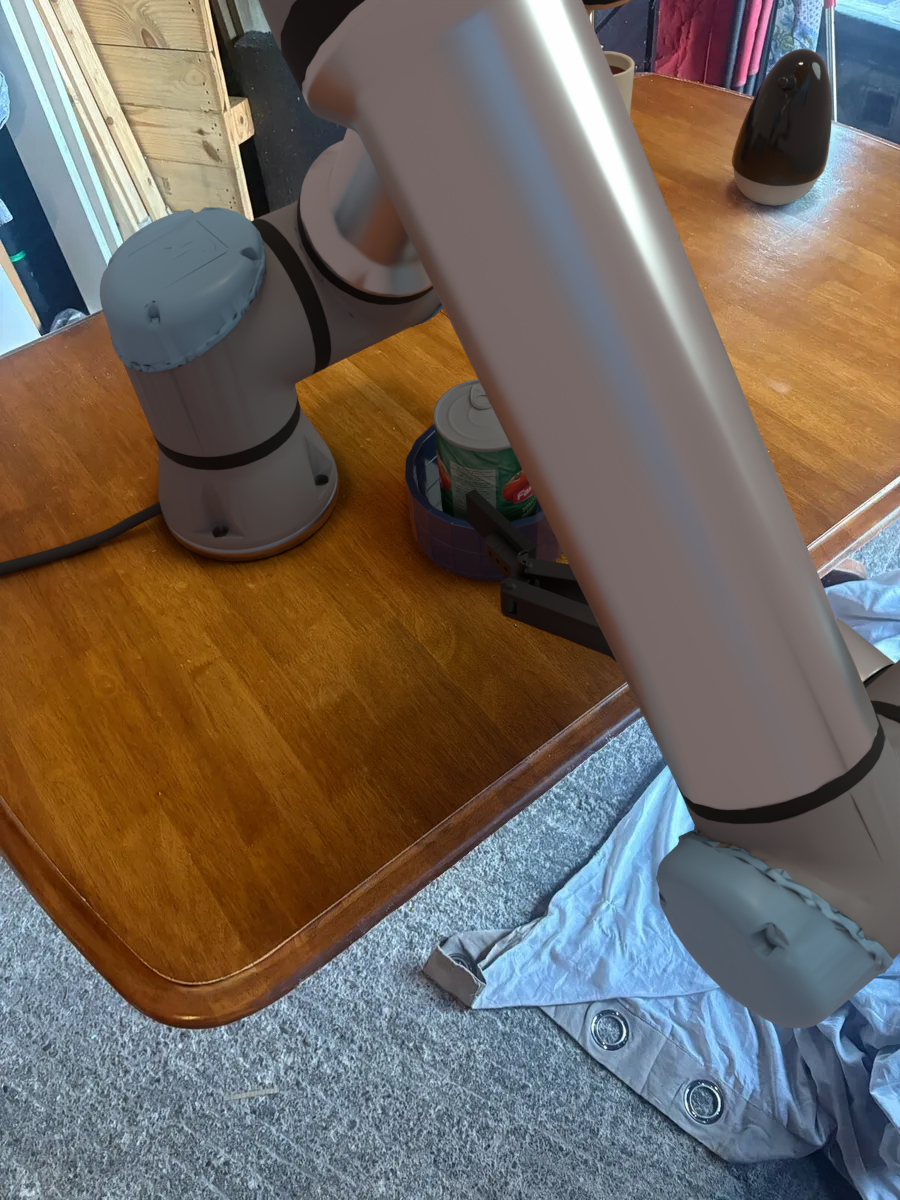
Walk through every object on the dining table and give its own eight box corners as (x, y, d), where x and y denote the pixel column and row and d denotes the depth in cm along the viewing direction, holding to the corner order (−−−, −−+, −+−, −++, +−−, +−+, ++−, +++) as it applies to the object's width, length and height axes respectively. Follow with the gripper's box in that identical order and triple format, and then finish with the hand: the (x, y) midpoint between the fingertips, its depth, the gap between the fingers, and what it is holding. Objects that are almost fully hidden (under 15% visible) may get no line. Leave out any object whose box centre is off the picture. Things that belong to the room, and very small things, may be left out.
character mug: (580, 155, 112) (586, 40, 101) (635, 163, 110) (647, 47, 99) (550, 197, 106) (554, 80, 96) (608, 207, 104) (618, 88, 93)
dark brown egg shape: (710, 204, 103) (735, 60, 91) (746, 165, 108) (775, 24, 96) (795, 226, 99) (834, 80, 87) (829, 185, 104) (870, 41, 92)
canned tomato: (546, 543, 72) (551, 440, 63) (450, 558, 71) (441, 456, 63) (526, 475, 76) (528, 371, 68) (435, 489, 76) (425, 385, 67)
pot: (476, 609, 69) (473, 558, 64) (380, 507, 76) (371, 455, 71) (611, 527, 73) (618, 474, 68) (509, 438, 80) (508, 385, 76)
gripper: (615, 813, 50) (406, 581, 61) (905, 598, 58) (673, 427, 69) (628, 748, 44) (394, 504, 55) (950, 518, 52) (688, 346, 63)
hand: (549, 461), depth 62 cm, fingers open, 13 cm apart
